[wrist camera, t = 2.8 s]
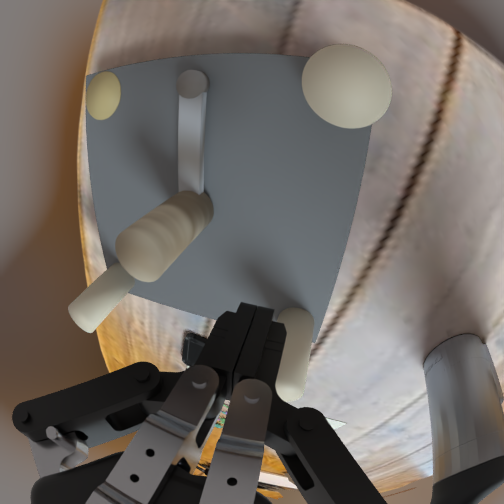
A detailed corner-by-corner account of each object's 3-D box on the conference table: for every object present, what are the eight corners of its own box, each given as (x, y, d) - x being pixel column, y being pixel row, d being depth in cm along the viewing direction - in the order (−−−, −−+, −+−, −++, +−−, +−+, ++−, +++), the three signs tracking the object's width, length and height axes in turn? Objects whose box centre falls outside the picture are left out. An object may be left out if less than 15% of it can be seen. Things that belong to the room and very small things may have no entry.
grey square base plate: (371, 75, 16) (412, 46, 7) (317, 323, 29) (304, 409, 20) (106, 74, 20) (19, 83, 11) (125, 274, 33) (73, 327, 24)
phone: (185, 334, 35) (288, 375, 34) (188, 328, 36) (290, 368, 35) (181, 362, 39) (270, 398, 38) (184, 357, 40) (272, 392, 39)
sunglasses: (211, 468, 84) (206, 476, 80) (186, 454, 85) (181, 462, 81) (219, 466, 78) (214, 475, 74) (192, 451, 79) (186, 461, 75)
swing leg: (175, 72, 16) (101, 67, 10) (220, 70, 16) (156, 55, 9) (175, 224, 23) (120, 274, 17) (213, 231, 22) (165, 288, 16)
